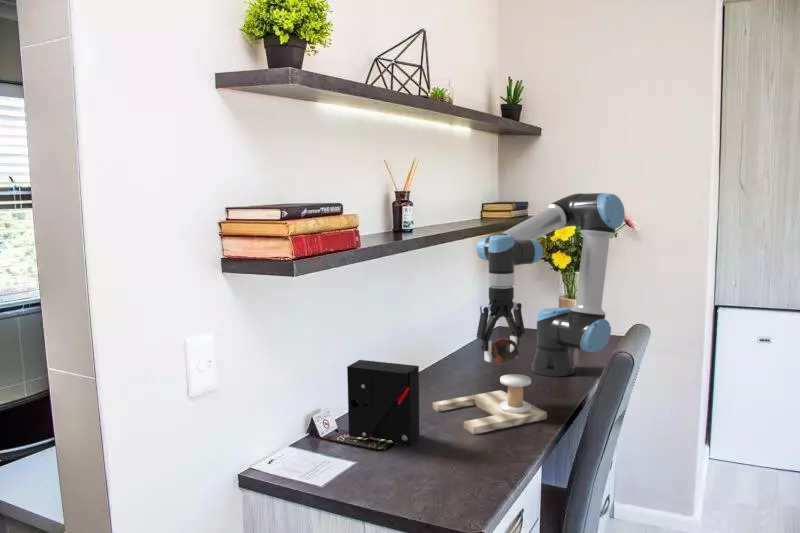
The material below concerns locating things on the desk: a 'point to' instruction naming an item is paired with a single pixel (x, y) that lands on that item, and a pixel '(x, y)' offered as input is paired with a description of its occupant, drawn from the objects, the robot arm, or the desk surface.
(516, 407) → the spool
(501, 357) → the pottery mug
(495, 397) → the notched board
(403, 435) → the electrical component
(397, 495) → the desk surface
